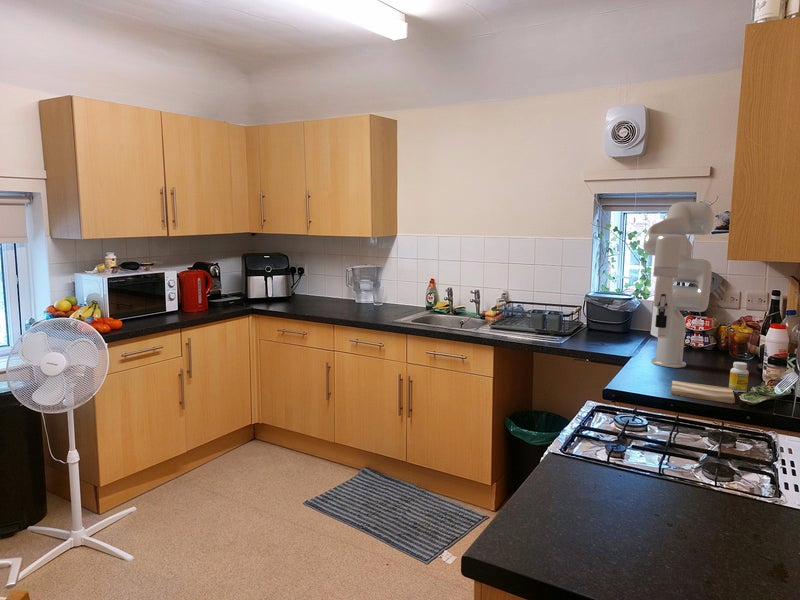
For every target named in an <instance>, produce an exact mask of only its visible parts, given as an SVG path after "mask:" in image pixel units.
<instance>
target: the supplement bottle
mask: <svg viewBox="0 0 800 600" xmlns="http://www.w3.org/2000/svg"><path fill="white" fill-rule="evenodd" d="M732 366H733V367H732V368H730V371H729V382H728V388H732V391H734V392H733V393H738V392H745V393H747V390H748V385H749V384H748V383H749V375H750V374H749V373H750V372H749V370H748V369H747V368H748V363H746V362H743V361H734V362H733V365H732Z"/></svg>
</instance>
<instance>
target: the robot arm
mask: <svg viewBox="0 0 800 600" xmlns="http://www.w3.org/2000/svg"><path fill="white" fill-rule="evenodd" d="M713 227H714V212H713V208H712V207H711V205H710V204H709V203H707V202H704V201H703V202H702V201H697V202H696V201H678V202H676V203H674V204H672V205H671V206H670V207H669V209H668V211H667V213H666V214H665V215H664V216H663V220H661V221H659V222H657V223H656V222H655V223H654V224H652V225H651V226H650V227H649V228H648V230H647V231H646V233H645V237H644V240H643V245H642V246H643V251H644V253H645V254H647V255H649V256H654V264H653V274H652V276H653V277H655V279H656V280H655V285H654V298H653V305H652V306H654V307H655V305H658V311H657V315H656V324H655V327H659V328H666V322H667V316H666V313H667V308H668V307H669V306H670V302H672V303H673V310H672V321H671V331H670V338H657V343H656V352H655V353H656V355H655V357H654V358H651V361H650V362H651V364H654V365H656V366H659V367H660V366H661V367H664V368H665V367H666V368H675V369H676V368H677V369H678V368H685V367H687V363H686V362H685V361H683V356H684V345H685V336H686V328H687V327H686V325H687V324H686V323H687V322H686V319H685V317H684V316H683V314H682V313H681V312H680V311H685V312H686V311H688V312H697V313H699V312H700V313H701V312H705V311H707V309H708V306H709V303H710V302H709V301H710V293H711V285H712V272H713V271H712V268H713V267H712V264H711V262H710V261H709V260H707V259H704V258H703V259H702V258H692V257H693V249H694V248H693V244H692V242H691V241H690V239H689V238H688V236H687V235H693V236H694V235H695V236H697V235H698V236H704V235H709V234H710V233H711V232H712V231H713ZM675 282H676V283H686V284H695V285H697V286H689V285H676V284H674V283H675ZM667 303H668V304H667ZM659 304H660V306H659ZM664 305H666V306H664Z"/></svg>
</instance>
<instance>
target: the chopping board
mask: <svg viewBox="0 0 800 600" xmlns="http://www.w3.org/2000/svg"><path fill="white" fill-rule="evenodd" d="M670 390H671V391H670V395H671V394H674V395H673V396H677V395H680V396H679V397H684V396H685V397H686V398H693V399H699V400H706V401H714V402H722V403H728V404H733V403H734V404H735V403H736V398H735V395H734V394H735V393H734V392H733V391H732V388H729V387H725V386H724V387H723V386H716V385H708V384H701V383H694V382H686V381H679V380H672V381H671V389H670ZM685 397H684V398H685Z"/></svg>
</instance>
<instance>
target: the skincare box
mask: <svg viewBox="0 0 800 600" xmlns="http://www.w3.org/2000/svg"><path fill="white" fill-rule="evenodd" d="M667 304H668V303H667ZM652 306H653V305H652ZM659 306H660V304H659ZM664 306H666V305H664ZM672 310H673V303H672V302H670V306H669V307H668V308H667V313H666V316H667V322H666V328H659V327H655V324H656V315H657V311H658V305H655V307H654V306H653V307H652V316H651V327H650V328H651V329H650V335H651V336H654V337H656V338H657V339H658V338H670V331H671V321H672Z"/></svg>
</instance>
